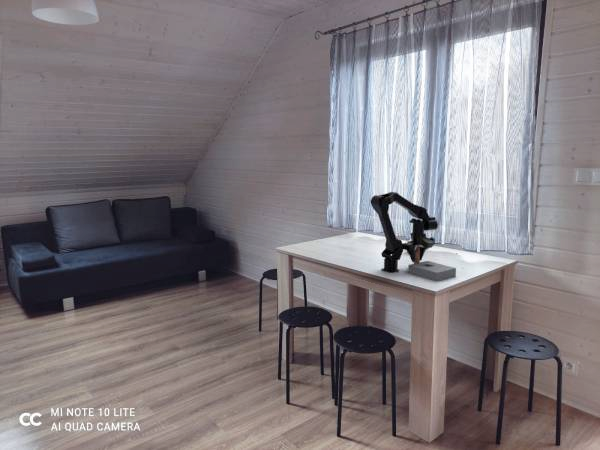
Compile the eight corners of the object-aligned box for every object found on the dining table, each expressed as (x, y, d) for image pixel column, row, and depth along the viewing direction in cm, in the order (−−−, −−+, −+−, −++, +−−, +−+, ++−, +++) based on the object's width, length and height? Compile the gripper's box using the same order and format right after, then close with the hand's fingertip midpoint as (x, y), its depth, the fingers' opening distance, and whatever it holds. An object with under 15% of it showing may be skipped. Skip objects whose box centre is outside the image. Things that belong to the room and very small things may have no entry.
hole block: (436, 281, 205) (437, 272, 205) (408, 272, 219) (408, 264, 218) (455, 276, 213) (456, 268, 213) (426, 268, 227) (427, 260, 226)
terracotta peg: (416, 267, 228) (417, 248, 227) (412, 266, 230) (412, 247, 229) (420, 266, 230) (420, 247, 228) (416, 265, 232) (416, 246, 231)
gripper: (418, 236, 215) (417, 267, 218) (443, 231, 226) (441, 261, 228) (400, 232, 224) (399, 262, 227) (425, 228, 235) (423, 257, 237)
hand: (416, 261), depth 229 cm, fingers open, 5 cm apart
